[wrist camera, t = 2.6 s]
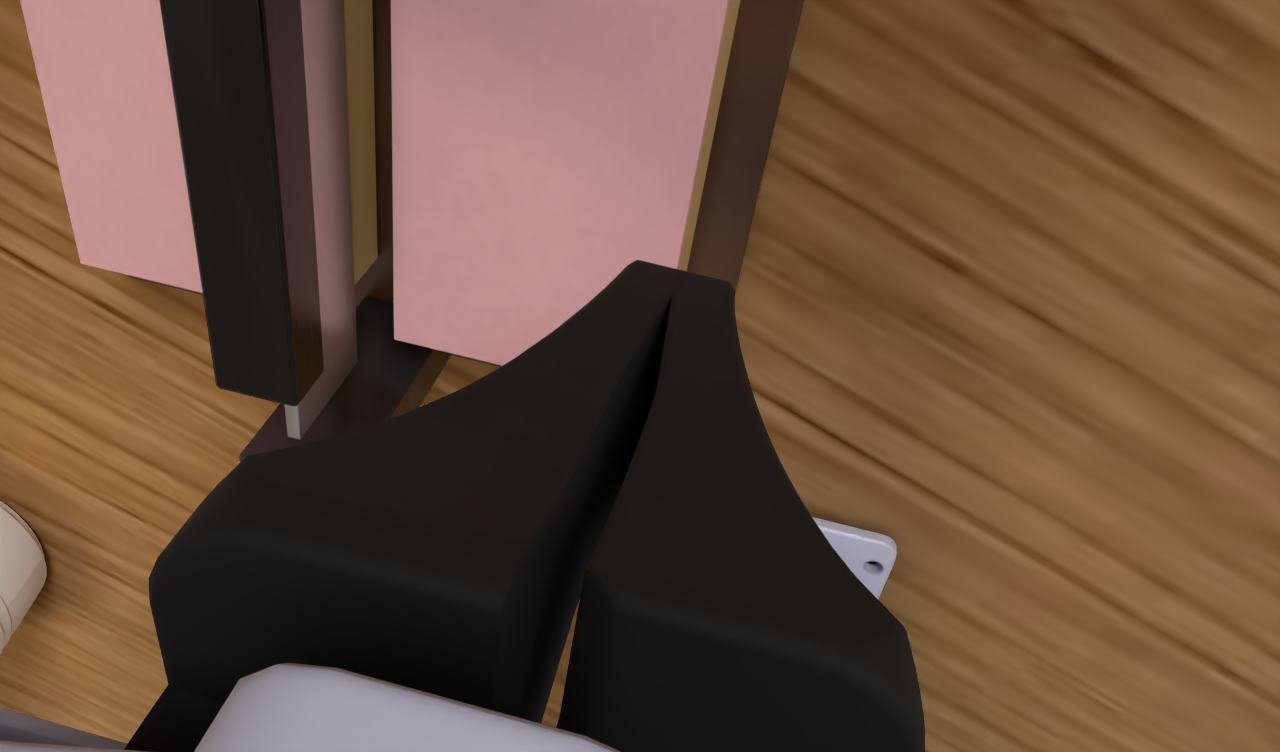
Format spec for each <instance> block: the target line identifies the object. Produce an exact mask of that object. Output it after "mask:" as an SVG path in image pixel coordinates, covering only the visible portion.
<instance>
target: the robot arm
mask: <svg viewBox="0 0 1280 752" xmlns="http://www.w3.org/2000/svg"><path fill="white" fill-rule="evenodd" d="M734 298H735V290H734V289H733V287H732V285H731V284H730V282H729V281H725V280H720V279H716V278H712V277H708V276H704V275H699V274H695V273H691V272H687V271H683V270H679V269H674V268H670V267H666V266H662V265H658V264H653V263H649V262H645V261H641V260H636V261H634V262H632V263H630V264H628V265H627V266H626V267H625V268H624V269H623V270H622V271H621V272H620V273H619V274H618V275H617V276H616V277H615V278H614V279H613V280H612V281H611V282H610V283H609V284H608V285H607V286H606V287H605V288H604V289H603V290H602V291H601V292H600V293H599V294H597V295H596V296H595V297H594V298H593V299H592V300H591V301H590V302H588V303H587V304H586V305H585V306H584V307H582V308H581V309H580V310H579V311H578V312H576V313H575V314H574V315H573V316H571V317H570V318H569V319H568V320H566V321H565V322H564V323H563V324H562V325H560V326H559V327H558V328H557V329H555V330H554V331H553V332H551V333H550V334H549V335H547V336H546V337H544V338H543V339H541V340H540V341H539V342H537V343H536V344H534V345H533V346H531V347H530V348H528V349H527V350H526V351H524V352H523V353H521V354H520V355H518V356H517V357H516V358H514V359H512V360H511V361H509V362H508V363H506V364H504V365H503V366H501V367H500V368H498V369H496V370H495V371H493V372H491V373H490V374H488V375H486V376H484V377H483V378H481V379H479V380H477V381H475V382H473V383H472V384H470V385H468V386H466V387H464V388H462V389H460V390H458V391H456V392H454V393H452V394H450V395H448V396H445V397H443V398H441V399H438V400H436V401H434V402H431V403H429V404H427V405H424V406H422V407H420V408H417V409H415V410H413V411H410V412H408V413H405V414H403V415H400V416H397V417H394V418H392V419H389V420H386V421H383V422H380V423H377V424H374V425H371V426H368V427H365V428H361V429H358V430H355V431H352V432H348V433H345V434H342V435H338V436H334V437H331V438H327V439H323V440H319V441H314V442H310V443H305V444H301V445H296V446H292V447H287V448H283V449H278V450H274V451H269V452H265V453H259V454H254V455H248V456H246V457H245V458H244V459H243V460H242V461H241V462H240V463H239V465H238V466H237V467H236V468H235V469H234V470H233V471H231V472H230V473H229V474H228V475H227V476H226V477H225V478H224V479H223V480H222V481H221V482H220V483H219V484H218V485H217V486H216V487H215V488H214V489H213V490H212V492H211V493H210V494H209V495H208V496H207V497H206V498H205V499H204V500H203V501H202V503H201V504H200V505H199V506H198V508H197V509H196V510H195V511H194V513H193V514H192V515H191V516H190V518H189V519H188V520H187V522H186V523H185V524H184V525H183V527H182V528H181V529H180V530H179V532H178V533H177V534H176V535H175V537H174V538H173V539H172V540H171V542H170V543H169V544H168V546H167V547H166V548H165V549H164V551H163V552H162V553H161V554H160V556H159V557H158V558H157V561H156V563H155V565H154V568H153V570H152V572H151V574H150V577H149V597H150V606H151V610H152V614H153V619H154V623H155V627H156V632H157V636H158V641H159V645H160V649H161V654H162V658H163V662H164V667H165V671H166V676H167V680H168V686H167V687H166V689H165V690H164V692H163V693H162V695H161V696H160V698H159V699H158V700H157V702H156V703H155V705H154V706H153V708H152V709H151V711H150V712H149V714H148V715H147V716H146V718H145V719H144V721H143V722H142V724H141V725H140V727H139V728H138V730H137V731H136V732H135V734H134V735H133V737H132V738H131V740H130V741H129V743H128V744H126V743H123V742H119V741H116V740H112V739H109V738H105V737H102V736H98V735H95V734H91V733H88V732H84V731H81V730H77V729H74V728H70V727H67V726H63V725H60V724H56V723H53V722H49V721H46V720H42V719H38V718H35V717H31V716H28V715H24V714H21V713H17V712H14V711H10V710H7V709H3V708H0V752H925V725H924V715H923V708H922V701H921V695H920V689H919V684H918V678H917V673H916V668H915V664H914V660H913V655H912V651H911V647H910V643H909V639H908V636H907V632H906V630H905V628H904V627H903V625H902V624H901V623H900V622H899V621H898V620H897V619H896V618H895V617H894V616H893V615H892V614H891V613H890V612H889V611H888V610H887V608H886V607H885V606H884V605H883V604H882V603H881V602H880V601H879V600H878V599H879V597H880V594H881V592H882V590H883V587H884V585H885V583H886V581H887V578H888V576H889V574H890V571H891V569H892V567H893V564H894V562H895V560H896V554H897V546H896V544H895V541H894V540H893V539H891V538H890V537H888V536H886V535H883V534H880V533H875V532H871V531H867V530H863V529H859V528H855V527H851V526H847V525H843V524H839V523H835V522H831V521H827V520H823V519H819V518H815V517H812V516H811V515H810V513H809V512H808V510H807V509H806V507H805V506H804V504H803V502H802V501H801V499H800V497H799V496H798V494H797V492H796V490H795V488H794V487H793V485H792V483H791V481H790V479H789V478H788V476H787V474H786V472H785V470H784V468H783V466H782V464H781V462H780V460H779V458H778V456H777V454H776V452H775V449H774V447H773V445H772V443H771V440H770V438H769V436H768V433H767V431H766V428H765V426H764V423H763V421H762V418H761V415H760V413H759V410H758V407H757V404H756V402H755V399H754V396H753V392H752V389H751V386H750V383H749V379H748V375H747V372H746V368H745V364H744V361H743V357H742V353H741V348H740V344H739V338H738V332H737V326H736V319H735V307H734ZM869 561H876V562H878V564H870V563H868V562H869ZM579 599H580V602H579ZM578 602H579V608H578V613H577V619H576V625H575V631H574V637H573V642H572V648H571V654H570V660H569V665H568V671H567V677H566V683H565V689H564V694H563V700H562V706H561V712H560V717H559V721H558V724H557V727H556V728H554V727H551V726H547V725H543V724H541V722H542V719H543V715H544V712H545V709H546V705H547V702H548V699H549V695H550V692H551V689H552V685H553V682H554V678H555V675H556V672H557V669H558V665H559V662H560V659H561V655H562V652H563V649H564V646H565V642H566V639H567V636H568V633H569V629H570V626H571V623H572V620H573V616H574V613H575V610H576V607H577V604H578Z"/></svg>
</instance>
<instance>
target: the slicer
mask: <svg viewBox="0 0 1280 752" xmlns="http://www.w3.org/2000/svg"><path fill="white" fill-rule="evenodd" d="M803 3H804V0H740V5H739V10H738V15H737V20H736V25H735V30H734V35H733V40H732V45H731V50H730V55H729V60H728V66H727V71H726V76H725V81H724V86H723V91H722V96H721V101H720V106H719V111H718V116H717V121H716V126H715V131H714V136H713V141H712V146H711V151H710V156H709V161H708V166H707V171H706V176H705V181H704V187H703V192H702V197H701V202H700V207H699V212H698V217H697V222H696V227H695V232H694V237H693V242H692V247H691V252H690V257H689V262H688V267H687V272H691V273H695V274H699V275H704V276H708V277H712V278H716V279H720V280H725V281H729V282H730V284H731V285H732V287H733V289H734V290H736V286H737V282H738V278H739V273H740V269H741V265H742V261H743V257H744V252H745V248H746V244H747V240H748V235H749V231H750V227H751V223H752V218H753V214H754V210H755V206H756V201H757V197H758V193H759V189H760V185H761V180H762V176H763V172H764V168H765V163H766V159H767V155H768V151H769V146H770V142H771V138H772V134H773V130H774V125H775V121H776V117H777V113H778V108H779V104H780V100H781V96H782V91H783V87H784V83H785V79H786V74H787V70H788V66H789V62H790V58H791V53H792V49H793V45H794V41H795V36H796V32H797V28H798V24H799V19H800V15H801V11H802V7H803ZM372 10H373V58H374V106H375V154H376V202H377V250H378V257H377V259H376V261H375V262H374V263H373V264H372V265H371V267H370V268H369V269H368V270H367V272H366V273H365V274H364V275H363V276H362V278H361V279H360V280H359V281H358V283H357V284H356V285H355V307H356V334H357V360H358V361H357V363H356V365H355V366H354V367H353V369H352V370H351V371H350V373H349V374H348V376H347V377H346V378H345V380H344V381H343V382H342V384H341V385H340V386H339V388H338V389H337V391H336V392H335V393H334V395H333V396H332V397H331V399H330V400H329V402H328V403H327V404H326V406H325V407H324V408H323V410H322V411H321V412H320V414H319V415H318V417H317V418H316V419H315V421H314V422H313V423H312V425H311V426H310V427H309V429H308V430H307V432H306V433H305V434H304V436H303V437H302V438H301V439H300V440H299V439H295V438H291V437H288V436H287V426H286V415H285V405H284V404H281V403H280V405H279V406H278V407H277V409H276V410H275V411H274V412H273V414H272V415H271V416H270V417H269V419H268V420H267V421H266V422H265V424H264V425H263V426H262V427H261V429H260V430H259V431H258V433H257V434H256V435H255V436H254V438H253V439H252V440H251V441H250V443H249V444H248V445H247V446H246V448H245V449H244V450H243V451H242V453H241V454H240V462H241V461H242V460H243V459H244V458H245V457H246V456H248V455H254V454H259V453H265V452H269V451H274V450H278V449H283V448H287V447H292V446H296V445H301V444H305V443H310V442H314V441H319V440H323V439H327V438H331V437H334V436H338V435H342V434H345V433H348V432H352V431H355V430H358V429H361V428H365V427H368V426H371V425H374V424H377V423H380V422H383V421H386V420H389V419H392V418H394V417H397V416H400V415H403V414H405V413H408V412H410V411H413V410H415V409H417V408H419V406H420V405H421V403H422V402H423V400H424V398H425V397H426V395H427V393H428V392H429V390H430V389H431V387H432V385H433V384H434V382H435V380H436V379H437V377H438V375H439V374H440V372H441V371H442V369H443V367H444V366H445V364H446V362H447V361H448V359H449V358H450V356H451V355H454V356H458V357H462V358H466V359H471V360H475V361H479V362H483V363H487V364H491V365H495V366H499V367H501V365H497V364H493V363H489V362H485V361H481V360H477V359H472V358H468V357H464V356H460V355H456V354H452V353H448V352H444V351H439V350H435V349H431V348H427V347H423V346H419V345H415V344H410V343H406V342H402V341H398V340H395V339H394V295H393V195H392V94H391V0H372ZM128 276H129V277H132V278H136V279H141V280H145V281H149V282H153V283H157V284H161V285H165V286H169V287H174V288H178V289H182V290H186V291H190V292H194V293H198V294H202V295H203V293H200V292H196V291H192V290H188V289H183V288H179V287H175V286H171V285H167V284H163V283H159V282H155V281H150V280H146V279H142V278H138V277H134V276H130V275H128Z"/></svg>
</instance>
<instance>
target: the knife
mask: <svg viewBox="0 0 1280 752" xmlns="http://www.w3.org/2000/svg"><path fill="white" fill-rule="evenodd" d="M159 1H160V8H161V15H162V21H163V28H164V35H165V42H166V48H167V55H168V62H169V69H170V76H171V82H172V89H173V96H174V103H175V109H176V116H177V123H178V130H179V137H180V143H181V150H182V157H183V164H184V170H185V177H186V184H187V191H188V197H189V204H190V211H191V218H192V225H193V231H194V238H195V245H196V252H197V258H198V265H199V272H200V279H201V286H202V292H203V299H204V306H205V313H206V319H207V326H208V333H209V340H210V347H211V353H212V360H213V367H214V374H215V380H216V385H217V387H219V388H221V389H225V390H229V391H233V392H237V393H241V394H245V395H249V396H253V397H257V398H261V399H265V400H269V401H273V402H277V403H281V404H284V405H285V415H286V426H287V436H288V437H291V438H295V439H299V440H300V439H301V438H302V437H303V436H304V434H305V433H306V432H307V430H308V429H309V427H310V426H311V425H312V423H313V422H314V421H315V419H316V418H317V417H318V415H319V414H320V412H321V411H322V410H323V408H324V407H325V406H326V404H327V403H328V402H329V400H330V399H331V397H332V396H333V395H334V393H335V392H336V391H337V389H338V388H339V386H340V385H341V384H342V382H343V381H344V380H345V378H346V377H347V376H348V374H349V373H350V371H351V370H352V369H353V367H354V366H355V365H356V363H357V361H358V360H357V334H356V307H355V281H354V254H353V228H352V201H351V175H350V148H349V122H348V95H347V69H346V42H345V16H344V0H159Z"/></svg>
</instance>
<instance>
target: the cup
mask: <svg viewBox="0 0 1280 752" xmlns="http://www.w3.org/2000/svg"><path fill="white" fill-rule="evenodd" d="M46 577H47V566H46V563H45V556H44V553H43V550H42V546H41V544H40V542H39V541H38V539H37V537H36V535H35V534H34V532H33V531H32V530H31V528H30V527H29V526H28V524H27V523H26V522H25V521H24V520H23V519H22V518H21V517H20V516H19V515H18V514H17V513H16V512H15V511H13V510H12V509H11V508H10V507H9V506H7V505H6V504H5V503H3V502H2V501H0V655H1V653H2V650H3V648H4V647H5V646H6V644H7V643H8V642H9V639H10V637H11V635H12V634H13V633H14V632H15V631H16V629H17V628H18V626H19V625H20V623H21V621H22V620H23V618H24V617H25V615H26V613H27V612H28V610H29V609H30V607H31V605H32V604H33V602H34V600H35V599H36V597H37V596H38V594H39V592H40V591H41V589H42V588H43V586H44V583H45V580H46Z"/></svg>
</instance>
